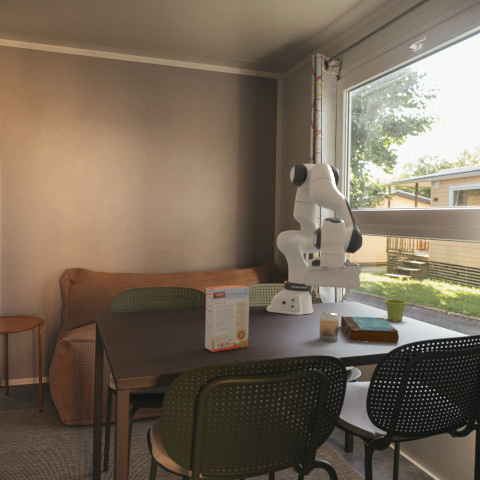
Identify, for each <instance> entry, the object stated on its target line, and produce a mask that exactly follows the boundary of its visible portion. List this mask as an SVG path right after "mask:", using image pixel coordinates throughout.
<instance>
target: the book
mask: <svg viewBox="0 0 480 480" xmlns="http://www.w3.org/2000/svg"><path fill="white" fill-rule="evenodd" d="M340 327H341V328H343V329H342V330H343V332H344V331H345V332H344V333H345V335H346V334H347V335H346V336H347V337H349V338H348V339H349V340H351V341H350V342H362V341H368V342H367V343H380V342H383V343H382V344H398V342H399V339H400V335H399V330H397V328H396V327H394V326H393V324H391V323H390V322H388V321H387V320H386V319H385V318H383V317H371V316H365V317H364V316H343V315H341V317H340Z"/></svg>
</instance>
